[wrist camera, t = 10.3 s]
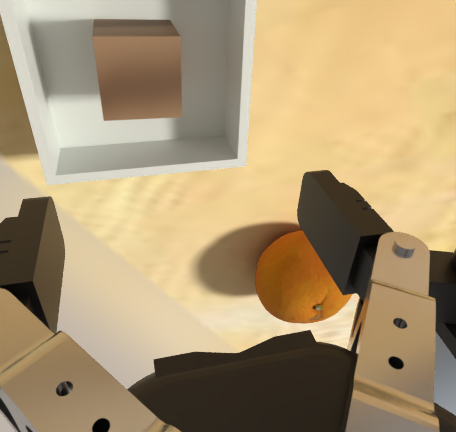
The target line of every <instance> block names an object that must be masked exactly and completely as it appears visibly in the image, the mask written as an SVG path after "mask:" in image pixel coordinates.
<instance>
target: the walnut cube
mask: <svg viewBox="0 0 456 432" xmlns="http://www.w3.org/2000/svg"><path fill="white" fill-rule="evenodd" d="M92 38H93V46H94V53H95V60H96V68H97V75H98V83H99V90H100V97H101V105H102V112H103V119H104V121H112V120H134V119H156V118H178V117H182V79H181V36H180V34H179V33H178V31H177V30H176V28H175V27H174V25H173V24H172V22H171V21H170V20H138V19H94V24H93V34H92Z"/></svg>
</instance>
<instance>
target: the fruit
mask: <svg viewBox="0 0 456 432" xmlns="http://www.w3.org/2000/svg"><path fill="white" fill-rule="evenodd" d="M255 286H256V291H257V294H258V297H259V299H260V301H261V303H262V304H263V306H264V307H265V309H266V310H267V311H268V312H269V313H271V314H272V315H273V316H275V317H276V318H278V319H280V320H283V321H286V322H291V323H314V322H318V321H322V320H325V319H327V318H329V317H331V316H333V315H334V314H336V313H337V312H338V311H339V310H340V309H341V308H342V307H343V306H344V305H345V304H346V303H347V302H348V301H349V299H350V297H351V296H352V294H348V295H342V293H341V292H340V290H339V288H338V287H337V285H336V284H335V282H334V280H333V279H332V277H331V276H330V274H329V272H328V271H327V269H326V268H325V266H324V264H323V263H322V261H321V260H320V258H319V256H318V255H317V253H316V252H315V250H314V248H313V247H312V245H311V244H310V242H309V240H308V239H307V237H306V236H305V234H304V232H303V231H295V232H292V233H288V234H285V235H283V236H281V237H280V238H278V239H277V240H275V241H274V242H273V243H272V244H270V245H269V246H268V247H267V248H266V250H265V251H264V252H263V253H262V255H261V257H260V258H259V261H258V264H257V269H256V276H255Z"/></svg>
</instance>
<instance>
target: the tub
mask: <svg viewBox="0 0 456 432" xmlns="http://www.w3.org/2000/svg"><path fill="white" fill-rule="evenodd" d="M256 5H257V0H0V15H1V18H2V22H3V26H4V29H5V33H6V37H7V40H8V44H9V48H10V51H11V55H12V59H13V62H14V66H15V70H16V73H17V77H18V81H19V84H20V88H21V92H22V95H23V99H24V103H25V106H26V110H27V114H28V117H29V121H30V125H31V128H32V132H33V136H34V139H35V143H36V147H37V150H38V154H39V158H40V161H41V165H42V169H43V172H44V176H45V180H46V183H47V185H54V184H65V183H75V182H86V181H96V180H107V179H117V178H128V177H138V176H149V175H159V174H170V173H181V172H191V171H202V170H212V169H223V168H233V167H244V166H246V159H247V144H248V128H249V113H250V97H251V82H252V66H253V51H254V36H255V20H256ZM94 19H138V20H170V21H171V22H172V24H173V25H174V27H175V28H176V30H177V31H178V33H179V34H180V36H181V79H182V117H178V118H156V119H134V120H112V121H104V119H103V112H102V105H101V97H100V90H99V83H98V75H97V68H96V60H95V53H94V46H93V38H92V34H93V24H94Z"/></svg>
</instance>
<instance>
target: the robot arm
mask: <svg viewBox="0 0 456 432" xmlns="http://www.w3.org/2000/svg"><path fill="white" fill-rule="evenodd" d="M297 217H298V222H299V225H300V227H301V229H302V231H303V232H304V234H305V236H306V237H307V239H308V240H309V242H310V244H311V245H312V247H313V248H314V250H315V252H316V253H317V255H318V256H319V258H320V260H321V261H322V263H323V264H324V266H325V268H326V269H327V271H328V272H329V274H330V276H331V277H332V279H333V280H334V282H335V284H336V285H337V287H338V288H339V290H340V292H341V293H342V295H348V294H354V293H357V294H358V295H359V297H360V298H359V301H358V304H357V308H356V313H355V317H354V321H353V326H352V330H351V335H350V339H349V344H348V348H347V349H345V348H342V347H340V346H336V345H333V344H329V343H323V342H316V341H315V339H314V337H313V335H312V333H311V331H310V330H308V331H303V332H297V333H292V334H287V335H281V336H276V337H273V338H271V339H268V340H266V341H264V342H262V343H260V344H258V345H255V346H253V347H251V348H249V349H247V350H245V351H242V352H240V353H212V352H191V353H186V354H180V355H175V356H170V357H164V358H159V359H155V360H154V368H155V372H154V373H152V374H150V375H148V376H146V377H145V378H143V379H141V380H139V381H138V382H136V383H135V384H134V385H132V386H131V387H130V388H129V389H126V388H125V387H124V386H123V385H121V383H119V382H118V381H117V380H116V379H115V378H114V377H113V376H112V375H111V374H110V373H109V372H107V371H106V370H105V369H104V368H103V367H102V366H101V365H100V364H99V363H98V362H97V361H95V359H94V358H92V357H91V356H90V355H89V354H88V353H87V352H86V351H85V350H84V349H83V348H81V346H79V345H78V344H77V343H76V342H75V341H74V340H73V339H72V338H71V337H70V336H69V335H67V334H66V333H65V332H63V331H58V332H57V333H56V331H57V322H58V313H59V304H60V295H61V287H62V278H63V269H64V260H65V246H64V239H63V235H62V231H61V228H60V224H59V220H58V216H57V213H56V209H55V205H54V202H53V199H52V197H39V198H29V199H23V201H22V204H21V208H20V211H19V215H18V217H10V218H6V219H4V220H3V221H2V222H1V223H0V413H1V414H2V415H3V416H4V418H5V419H6V420H7V421H8V423H9V424H10V425H11V427H12V428H13V429H14V430H15V432H456V416H455V415H454V414H452V413H450V412H449V411H447V410H446V409H444V408H442V407H441V406H439V405H438V404H436V403H434V380H435V331H436V332H437V333H438V335H439V336H440V338H441V339H442V340H443V342H444V343H445V345H446V346H447V347H448V349H449V350H450V351H451V353H452V354H453V355H454V357H455V359H456V249H455V251H454V253H453V252H442V251H432V250H429V249H428V247H427V246H426V245H425V244H424V243H423V242H422V241H421V240H419V239H418V238H416V237H414V236H412V235H409V234H406V233H401V232H394V231H393V230H392V229H391V228H390V227H389V226H388V225H387V223H386V222H385V221H384V220H383V219H382V218H381V217H380V216H379V215H378V214H377V212H376V211H375V210H374V209H371V206H370V205H369V204H368V203H367V201H365V199H364V198H363V197H362V196H361V195H360V194H359V193H358V192H357V190H355V189H353V188H352V187H350V186H348V185H346V184H345V183H340V182H339V181H338V180H337V179H336V178H335V177H334V176H333V174H332V173H331V172H330V171H328V170H322V171H312V172H306V173H305V174H304V176H303V180H302V186H301V192H300V198H299V203H298V210H297Z"/></svg>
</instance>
